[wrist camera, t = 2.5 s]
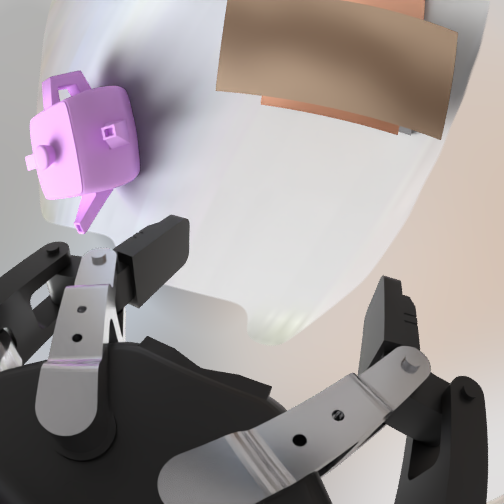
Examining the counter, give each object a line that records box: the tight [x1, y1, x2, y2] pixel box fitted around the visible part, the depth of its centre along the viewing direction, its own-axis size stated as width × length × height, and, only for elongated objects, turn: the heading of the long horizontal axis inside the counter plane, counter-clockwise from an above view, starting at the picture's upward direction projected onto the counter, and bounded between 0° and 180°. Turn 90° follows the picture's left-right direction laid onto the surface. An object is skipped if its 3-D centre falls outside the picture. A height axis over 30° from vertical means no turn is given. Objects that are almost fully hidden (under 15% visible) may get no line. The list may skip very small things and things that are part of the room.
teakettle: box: [25, 70, 140, 234], centre depth 34 cm, size 17×17×12 cm
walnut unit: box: [216, 0, 458, 140], centre depth 19 cm, size 8×14×16 cm, turn 83°
